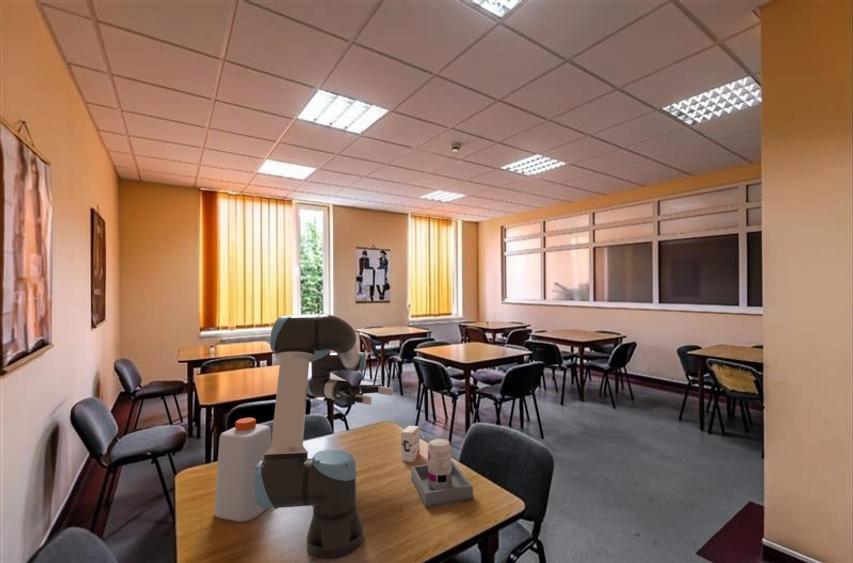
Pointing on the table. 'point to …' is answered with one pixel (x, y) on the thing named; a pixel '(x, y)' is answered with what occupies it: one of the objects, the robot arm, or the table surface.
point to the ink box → (410, 443)
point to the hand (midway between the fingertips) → (382, 396)
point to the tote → (431, 498)
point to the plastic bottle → (240, 469)
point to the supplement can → (439, 464)
